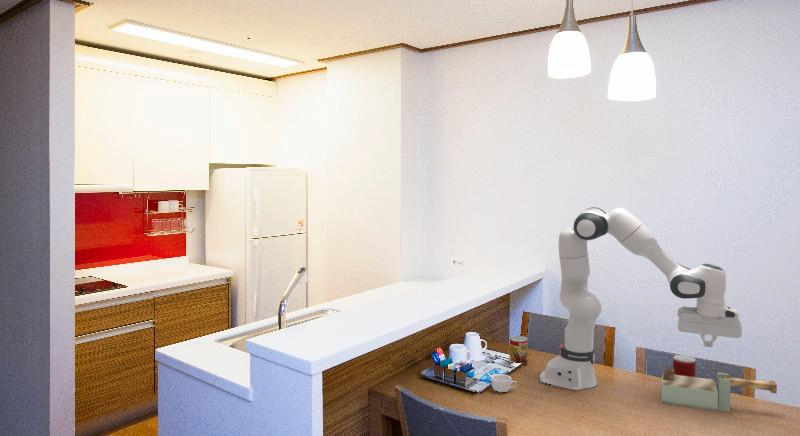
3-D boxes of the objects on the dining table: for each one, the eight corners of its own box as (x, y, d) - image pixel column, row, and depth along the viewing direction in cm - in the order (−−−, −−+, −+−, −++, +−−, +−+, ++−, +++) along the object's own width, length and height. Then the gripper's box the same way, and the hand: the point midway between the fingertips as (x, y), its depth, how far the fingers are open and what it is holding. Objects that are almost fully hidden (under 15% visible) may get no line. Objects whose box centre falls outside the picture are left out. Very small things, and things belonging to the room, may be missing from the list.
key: (724, 386, 195) (725, 378, 194) (723, 382, 198) (723, 374, 198) (776, 393, 188) (776, 385, 188) (774, 389, 192) (774, 380, 192)
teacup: (490, 393, 213) (490, 380, 212) (492, 386, 220) (492, 373, 220) (516, 396, 210) (516, 382, 210) (517, 388, 218) (517, 375, 217)
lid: (663, 384, 201) (663, 372, 200) (662, 376, 209) (662, 364, 209) (716, 392, 194) (717, 379, 193) (713, 382, 202) (714, 370, 201)
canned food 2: (697, 389, 214) (698, 361, 213) (675, 387, 215) (676, 360, 214) (691, 381, 221) (692, 355, 220) (670, 380, 223) (670, 354, 222)
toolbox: (661, 402, 202) (662, 372, 201) (660, 393, 210) (661, 364, 209) (730, 412, 193) (731, 381, 192) (726, 402, 201) (727, 372, 200)
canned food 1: (524, 368, 238) (524, 342, 237) (507, 365, 242) (507, 339, 241) (529, 363, 245) (529, 337, 244) (512, 360, 249) (512, 334, 248)
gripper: (678, 307, 198) (676, 344, 199) (744, 314, 189) (741, 353, 191) (677, 303, 204) (675, 339, 205) (741, 310, 195) (738, 347, 196)
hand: (707, 346), depth 198 cm, fingers closed
